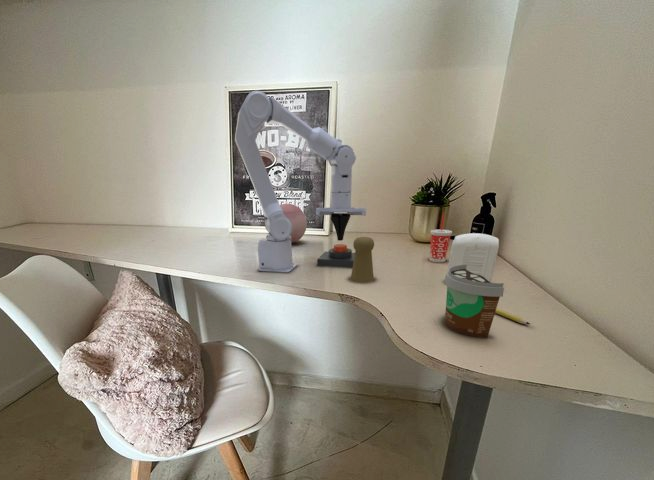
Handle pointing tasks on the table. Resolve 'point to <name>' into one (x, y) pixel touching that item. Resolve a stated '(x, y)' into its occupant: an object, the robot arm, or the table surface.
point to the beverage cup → (439, 244)
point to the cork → (363, 260)
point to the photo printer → (475, 253)
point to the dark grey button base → (336, 259)
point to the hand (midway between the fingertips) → (340, 239)
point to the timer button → (340, 248)
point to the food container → (470, 302)
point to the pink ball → (295, 221)
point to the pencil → (511, 316)
